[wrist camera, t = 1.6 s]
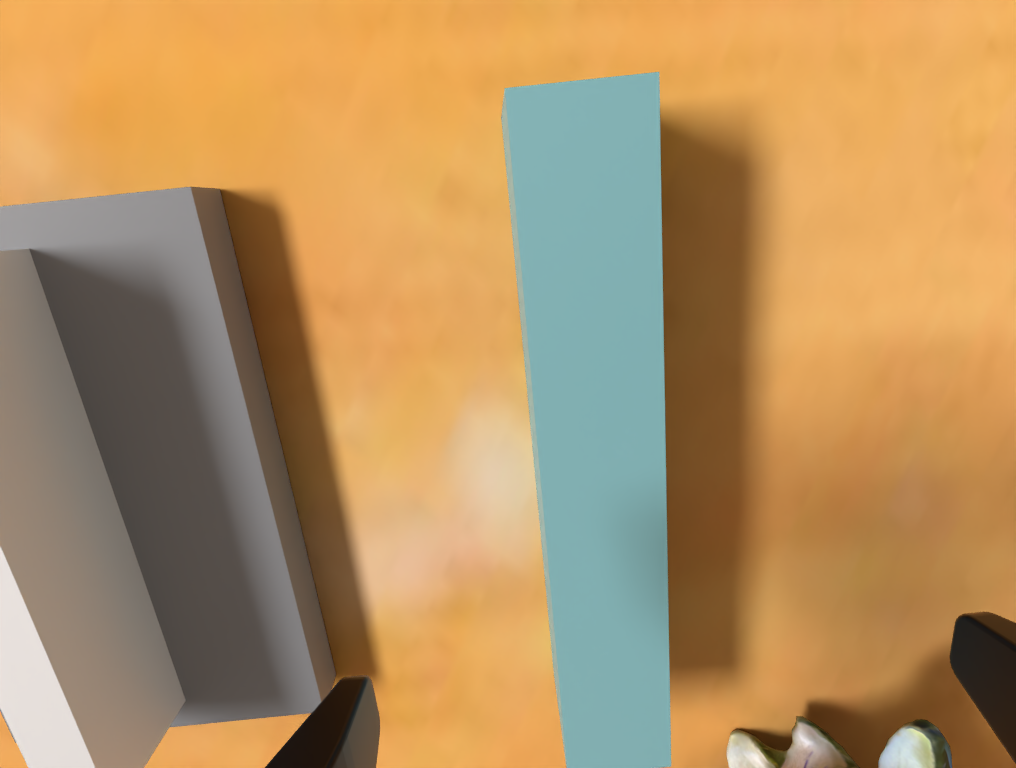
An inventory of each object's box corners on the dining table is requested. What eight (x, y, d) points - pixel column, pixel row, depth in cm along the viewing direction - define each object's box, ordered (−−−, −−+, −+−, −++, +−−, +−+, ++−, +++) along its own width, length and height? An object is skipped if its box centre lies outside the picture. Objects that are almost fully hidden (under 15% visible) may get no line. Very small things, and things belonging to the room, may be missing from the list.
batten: (637, 660, 20) (671, 766, 16) (553, 668, 20) (567, 777, 16) (615, 107, 15) (659, 72, 11) (501, 119, 15) (504, 88, 11)
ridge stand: (336, 674, 20) (286, 825, 15) (50, 703, 20) (-93, 863, 15) (219, 189, 15) (89, 180, 10) (-160, 228, 15) (-470, 238, 10)
